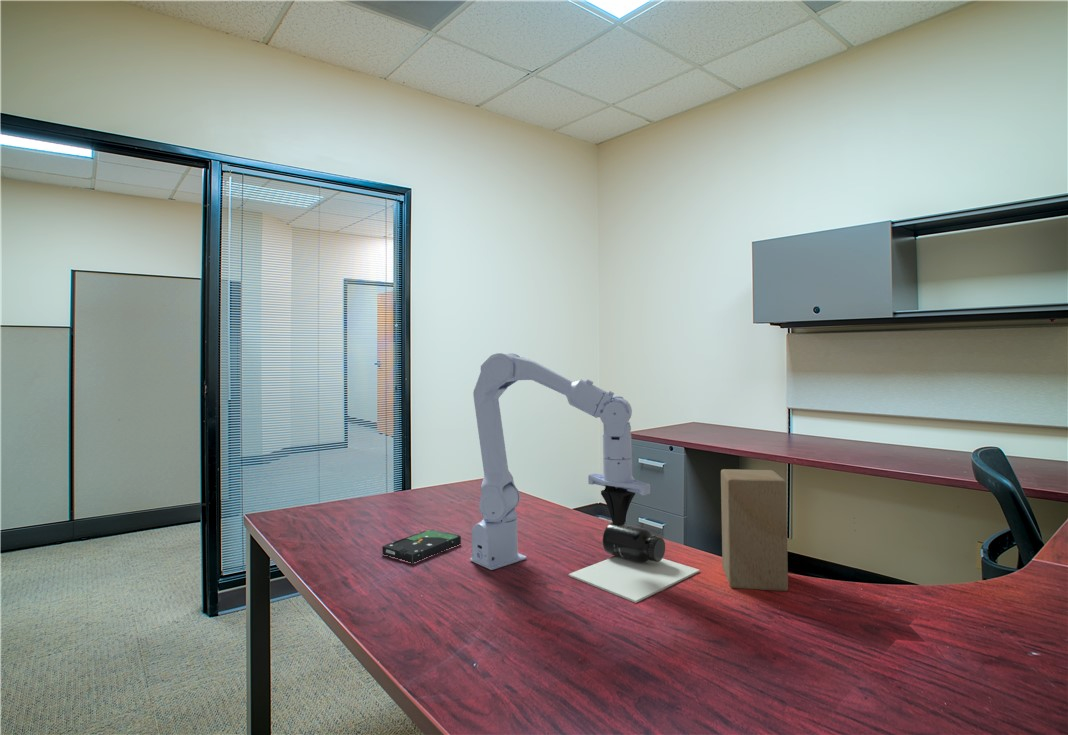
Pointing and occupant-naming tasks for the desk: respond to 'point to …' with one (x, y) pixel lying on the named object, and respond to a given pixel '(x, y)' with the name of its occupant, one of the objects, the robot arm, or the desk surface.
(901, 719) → the desk surface
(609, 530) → the supplement bottle
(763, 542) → the wooden block
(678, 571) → the mat
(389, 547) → the disk drive
